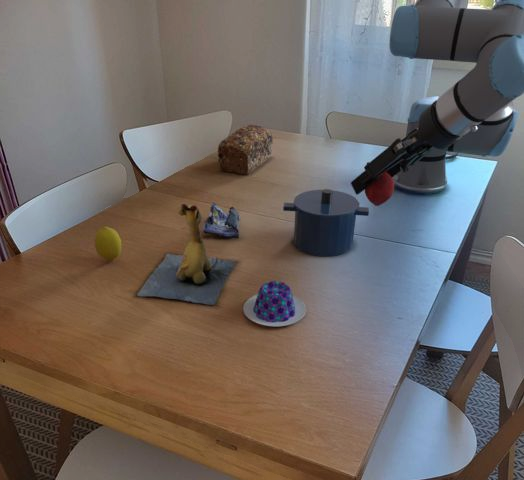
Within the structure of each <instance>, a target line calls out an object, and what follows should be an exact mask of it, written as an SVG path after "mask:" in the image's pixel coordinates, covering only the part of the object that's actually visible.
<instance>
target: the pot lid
mask: <svg viewBox="0 0 524 480" xmlns="http://www.w3.org/2000/svg"><path fill="white" fill-rule="evenodd" d="M293 203H294V206H295V207H296V208H297V209H298V210H299V211H301V212H303V213H305V214H308V215H312V216H317V217H327V218H334V217H343V216H347V215H350V214H353V213H354V212H356V211H357V210H358V208H359V207H360V201H359V199H357V198H356V197H355V196H354V195H352V194H349V193H348V192H344V191H339V190H333V189H330V188H324V189H312V190H306V191H303V192H301V193H299V194H297V195H296V196H295V197H294V199H293Z"/></svg>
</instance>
